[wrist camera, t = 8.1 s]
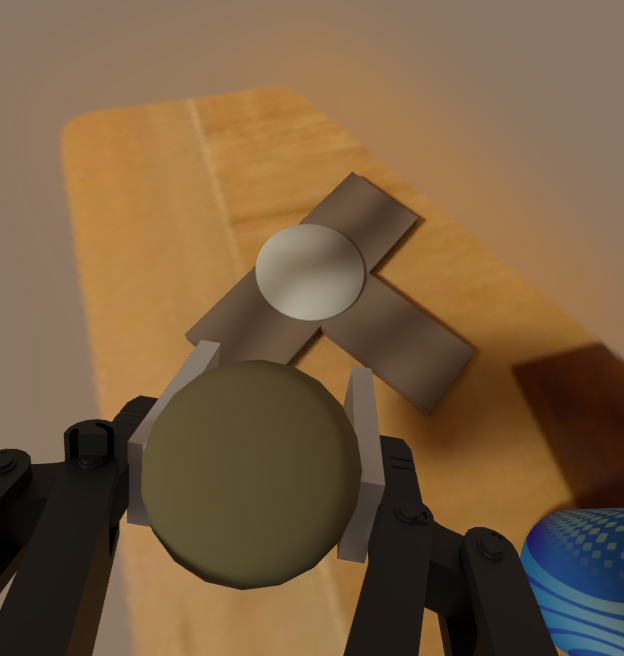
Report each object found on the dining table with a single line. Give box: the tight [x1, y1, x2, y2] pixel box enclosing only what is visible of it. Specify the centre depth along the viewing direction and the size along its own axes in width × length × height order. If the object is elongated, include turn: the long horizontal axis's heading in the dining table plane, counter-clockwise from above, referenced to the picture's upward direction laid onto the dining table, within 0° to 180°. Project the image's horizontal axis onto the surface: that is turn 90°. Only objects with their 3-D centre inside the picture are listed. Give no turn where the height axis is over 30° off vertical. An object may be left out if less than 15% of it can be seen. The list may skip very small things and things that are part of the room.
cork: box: [141, 359, 362, 590], centre depth 15 cm, size 6×6×11 cm
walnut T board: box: [185, 172, 475, 415], centre depth 36 cm, size 18×20×1 cm
